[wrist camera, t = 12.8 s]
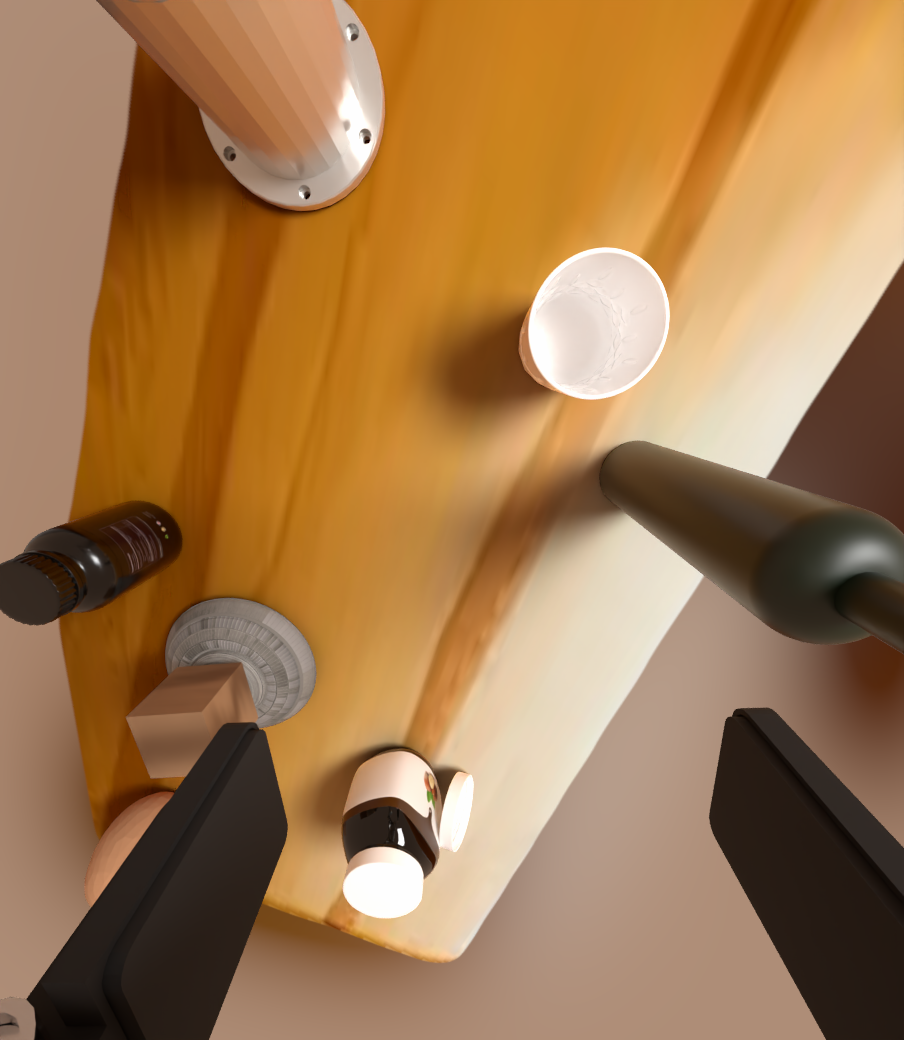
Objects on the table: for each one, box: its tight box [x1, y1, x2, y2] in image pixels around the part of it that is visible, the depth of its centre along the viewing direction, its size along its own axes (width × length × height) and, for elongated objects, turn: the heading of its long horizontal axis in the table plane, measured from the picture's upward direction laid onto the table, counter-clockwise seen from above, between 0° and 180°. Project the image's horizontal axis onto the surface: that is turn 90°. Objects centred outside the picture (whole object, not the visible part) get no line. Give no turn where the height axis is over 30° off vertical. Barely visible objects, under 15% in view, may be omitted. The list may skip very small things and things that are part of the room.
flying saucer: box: [165, 598, 316, 728], centre depth 41 cm, size 15×15×6 cm
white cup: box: [518, 248, 669, 399], centre depth 29 cm, size 8×8×10 cm
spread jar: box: [341, 749, 473, 918], centre depth 42 cm, size 12×11×12 cm
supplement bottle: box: [0, 501, 182, 625], centre depth 34 cm, size 7×7×12 cm
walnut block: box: [126, 662, 258, 778], centre depth 36 cm, size 6×6×6 cm
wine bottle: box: [600, 441, 904, 654], centre depth 22 cm, size 6×6×30 cm
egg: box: [85, 792, 174, 907], centre depth 44 cm, size 8×8×11 cm
